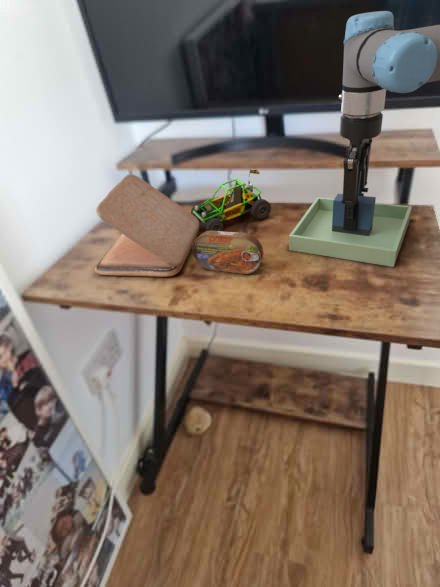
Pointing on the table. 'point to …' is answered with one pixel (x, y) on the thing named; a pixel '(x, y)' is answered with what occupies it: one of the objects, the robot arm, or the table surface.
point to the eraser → (363, 215)
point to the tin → (228, 251)
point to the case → (145, 231)
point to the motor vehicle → (232, 205)
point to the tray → (371, 249)
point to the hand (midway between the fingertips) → (352, 224)
